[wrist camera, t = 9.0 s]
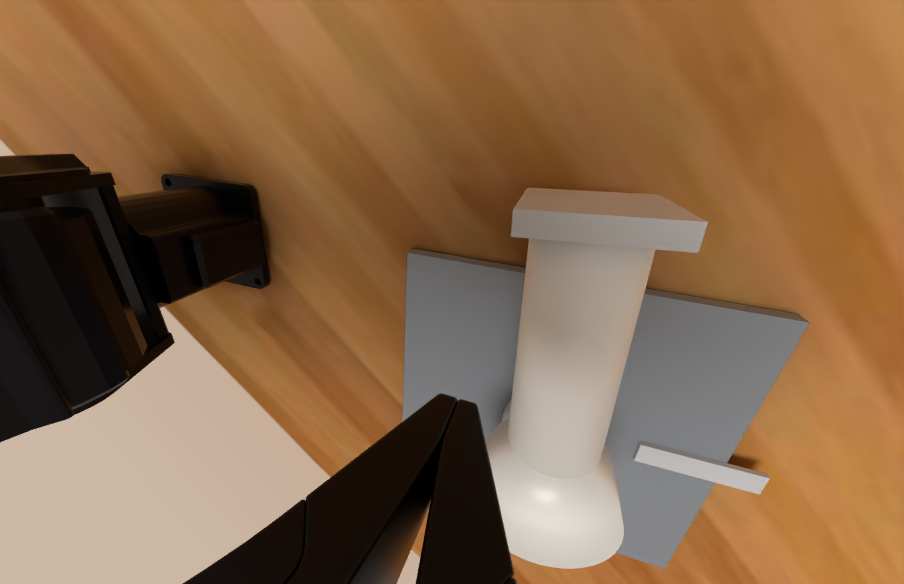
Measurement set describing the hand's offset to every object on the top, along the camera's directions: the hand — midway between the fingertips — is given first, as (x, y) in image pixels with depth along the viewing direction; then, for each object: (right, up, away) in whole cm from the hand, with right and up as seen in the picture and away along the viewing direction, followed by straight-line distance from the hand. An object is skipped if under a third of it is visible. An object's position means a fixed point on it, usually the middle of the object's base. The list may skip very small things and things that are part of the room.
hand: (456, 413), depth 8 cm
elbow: (+5, -1, +9) cm, 11 cm away
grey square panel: (+7, -4, +13) cm, 15 cm away
